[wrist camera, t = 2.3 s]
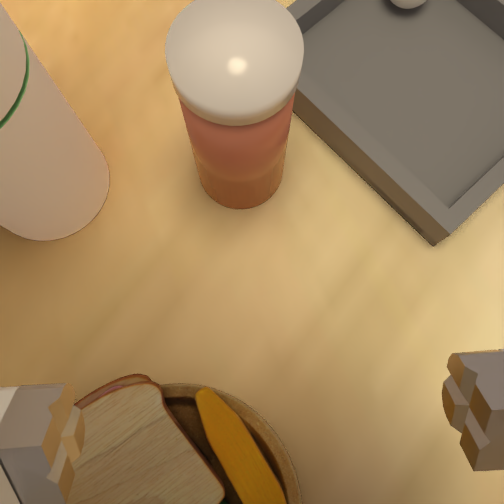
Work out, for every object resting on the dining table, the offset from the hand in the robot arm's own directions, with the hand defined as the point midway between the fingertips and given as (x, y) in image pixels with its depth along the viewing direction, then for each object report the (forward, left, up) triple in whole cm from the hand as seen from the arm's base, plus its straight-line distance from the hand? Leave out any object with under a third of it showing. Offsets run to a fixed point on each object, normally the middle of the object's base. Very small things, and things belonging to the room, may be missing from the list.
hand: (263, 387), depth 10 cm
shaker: (-10, +8, -16) cm, 20 cm away
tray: (-7, +20, -16) cm, 26 cm away
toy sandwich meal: (+2, -8, -16) cm, 18 cm away
